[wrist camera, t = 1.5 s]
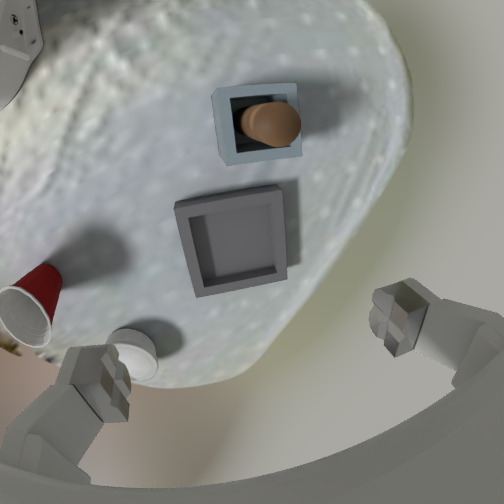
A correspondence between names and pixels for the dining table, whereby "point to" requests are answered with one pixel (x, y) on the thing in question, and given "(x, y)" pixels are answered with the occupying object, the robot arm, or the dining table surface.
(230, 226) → the tray
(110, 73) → the dining table surface
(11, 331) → the plastic cup
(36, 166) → the dining table surface
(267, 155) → the grey square bin
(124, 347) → the ramekin
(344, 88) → the dining table surface
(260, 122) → the walnut dowel
